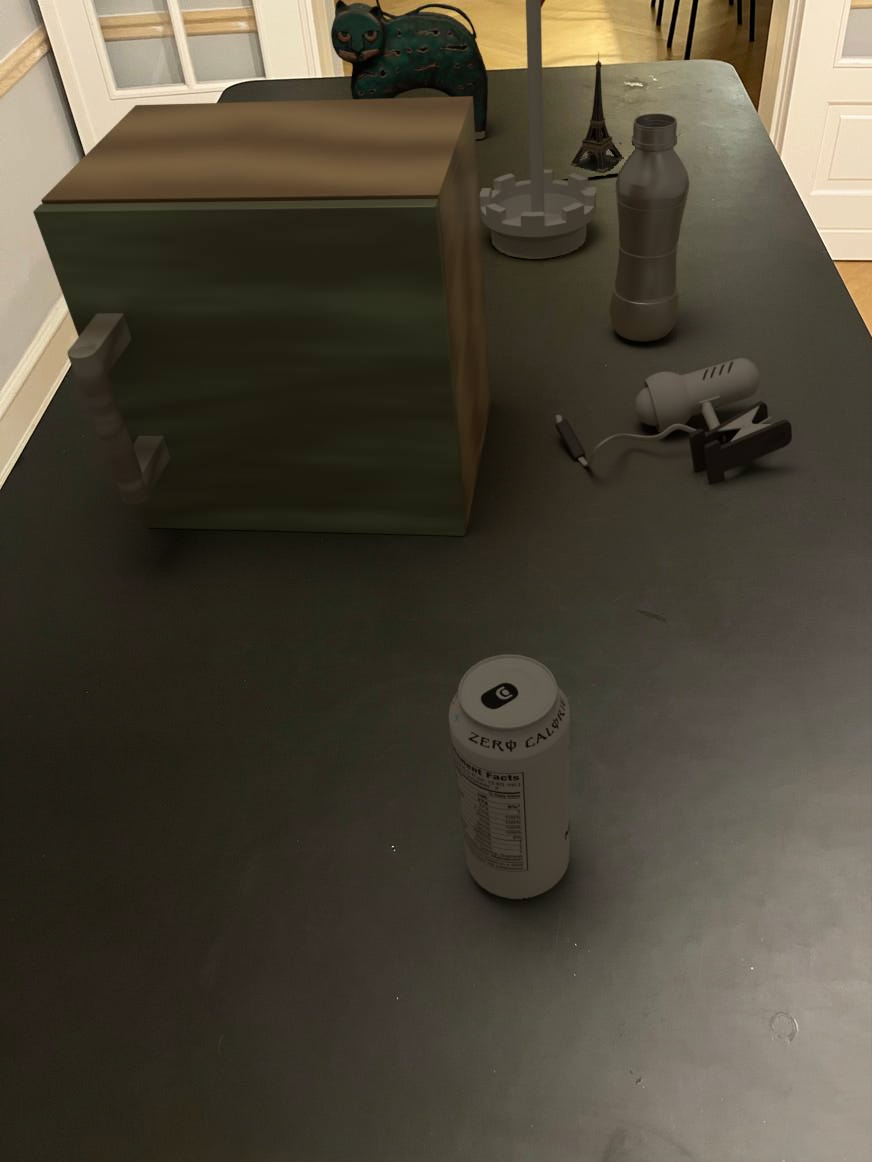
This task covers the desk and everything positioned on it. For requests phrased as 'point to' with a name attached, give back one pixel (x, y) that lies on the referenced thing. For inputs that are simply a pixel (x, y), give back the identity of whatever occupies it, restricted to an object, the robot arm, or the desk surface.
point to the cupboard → (319, 189)
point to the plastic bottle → (649, 231)
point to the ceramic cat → (410, 54)
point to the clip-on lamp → (702, 392)
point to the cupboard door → (267, 361)
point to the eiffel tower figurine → (597, 137)
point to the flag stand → (537, 182)
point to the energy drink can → (513, 774)
